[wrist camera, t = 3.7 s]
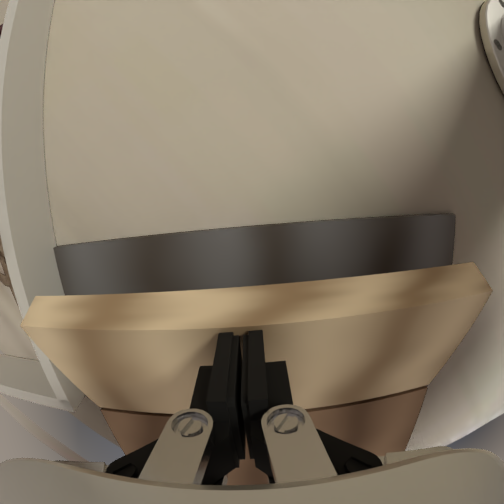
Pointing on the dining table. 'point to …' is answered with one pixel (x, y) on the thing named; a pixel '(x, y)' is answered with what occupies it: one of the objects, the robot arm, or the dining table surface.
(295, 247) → the walnut floor board
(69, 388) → the branch tray
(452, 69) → the dining table surface
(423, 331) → the oak plank
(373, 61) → the dining table surface
